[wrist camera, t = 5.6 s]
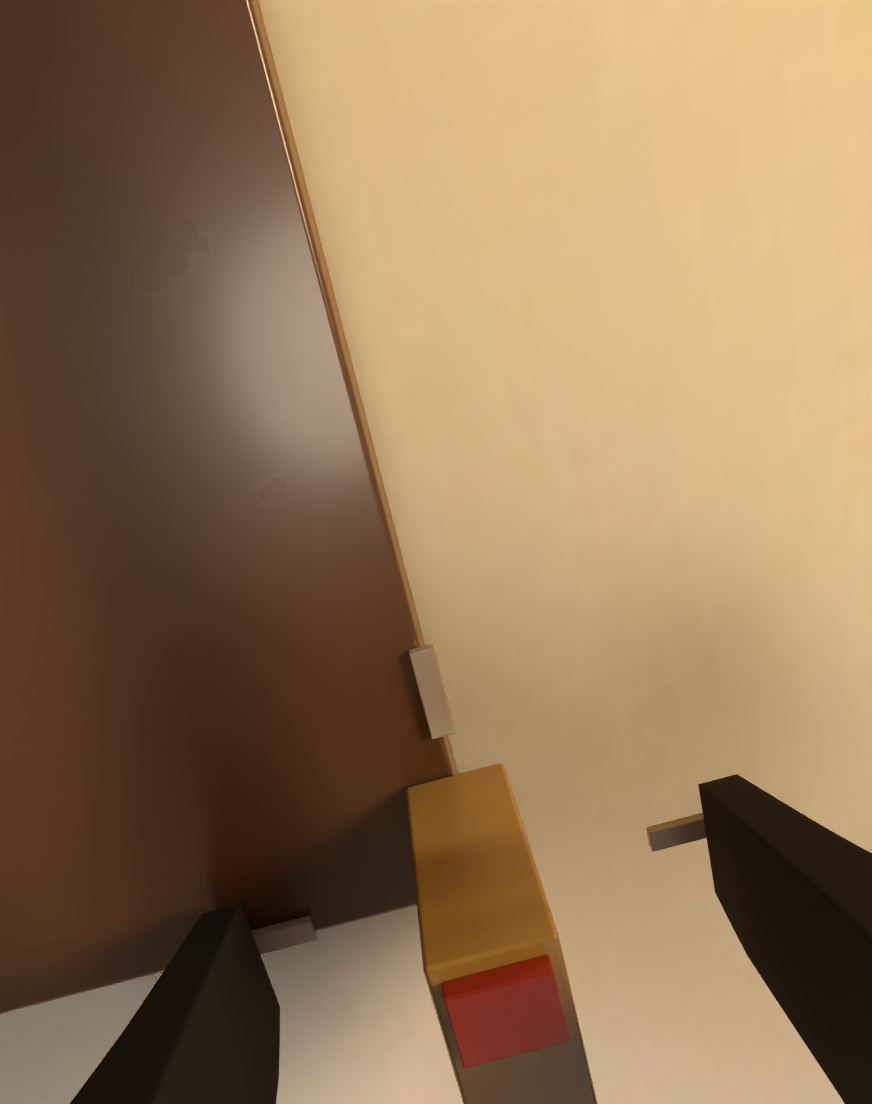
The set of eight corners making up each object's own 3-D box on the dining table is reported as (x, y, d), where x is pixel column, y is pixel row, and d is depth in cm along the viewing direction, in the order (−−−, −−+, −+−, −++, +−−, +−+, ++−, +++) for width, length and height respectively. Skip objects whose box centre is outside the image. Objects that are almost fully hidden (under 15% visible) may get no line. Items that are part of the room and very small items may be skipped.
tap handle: (552, 968, 13) (624, 1213, 10) (463, 992, 13) (502, 1247, 9) (502, 761, 12) (564, 951, 8) (404, 786, 12) (425, 988, 8)
